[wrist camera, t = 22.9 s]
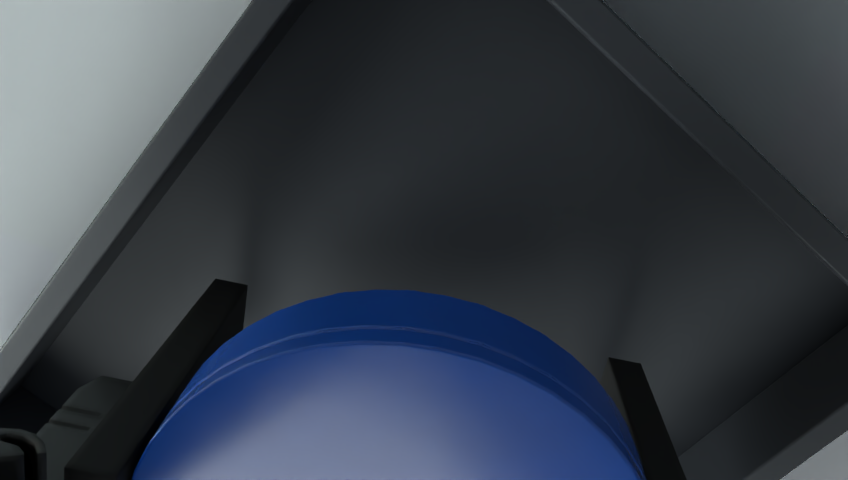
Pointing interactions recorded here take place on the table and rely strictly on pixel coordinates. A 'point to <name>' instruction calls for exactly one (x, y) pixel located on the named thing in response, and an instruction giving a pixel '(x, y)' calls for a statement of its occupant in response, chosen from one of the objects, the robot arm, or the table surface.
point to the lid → (391, 400)
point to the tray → (470, 215)
